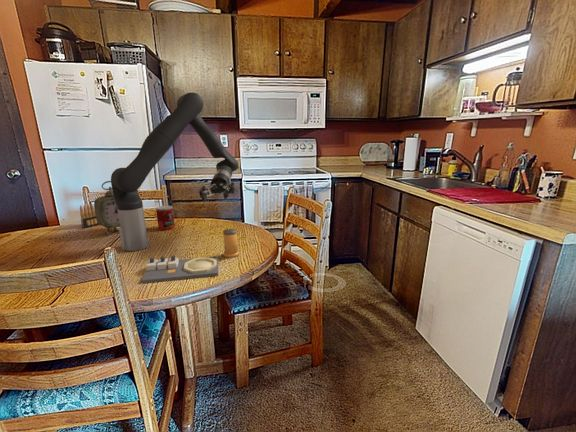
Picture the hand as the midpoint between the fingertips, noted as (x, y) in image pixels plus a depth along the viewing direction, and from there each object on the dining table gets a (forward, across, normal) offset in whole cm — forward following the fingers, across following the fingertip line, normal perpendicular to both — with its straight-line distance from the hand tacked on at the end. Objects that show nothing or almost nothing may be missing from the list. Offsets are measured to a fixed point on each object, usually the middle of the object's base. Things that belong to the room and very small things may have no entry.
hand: (214, 198), depth 117 cm
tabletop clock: (-18, -58, +20) cm, 64 cm away
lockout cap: (+12, +4, +20) cm, 23 cm away
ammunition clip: (-27, -75, +21) cm, 83 cm away
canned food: (-22, -36, +25) cm, 49 cm away
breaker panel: (+24, -10, +14) cm, 30 cm away
